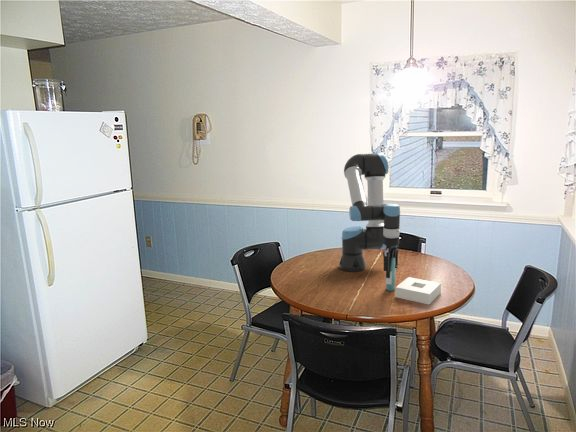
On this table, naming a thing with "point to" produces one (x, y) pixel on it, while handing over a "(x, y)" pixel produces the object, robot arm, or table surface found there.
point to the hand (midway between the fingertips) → (390, 282)
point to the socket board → (418, 290)
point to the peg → (392, 286)
